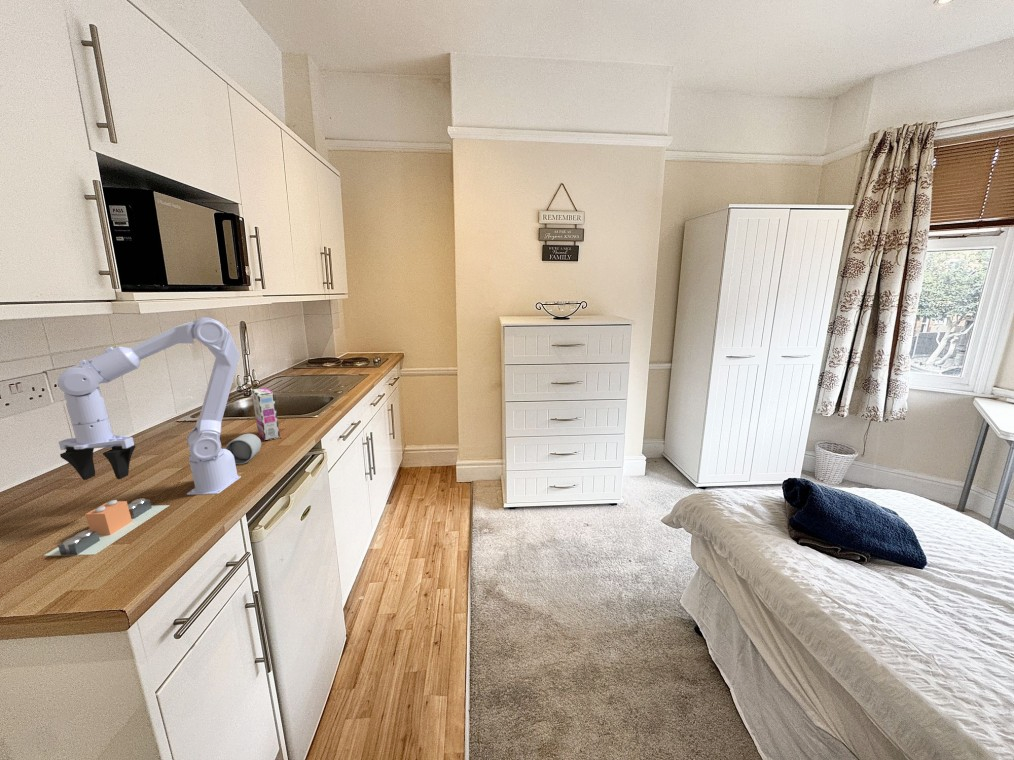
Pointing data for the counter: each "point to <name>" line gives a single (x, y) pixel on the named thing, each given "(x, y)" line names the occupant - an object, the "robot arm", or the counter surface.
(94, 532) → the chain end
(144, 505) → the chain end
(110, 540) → the mat
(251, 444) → the ceramic mug
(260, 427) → the candy bar box
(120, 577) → the counter surface
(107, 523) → the orange block with knobs
